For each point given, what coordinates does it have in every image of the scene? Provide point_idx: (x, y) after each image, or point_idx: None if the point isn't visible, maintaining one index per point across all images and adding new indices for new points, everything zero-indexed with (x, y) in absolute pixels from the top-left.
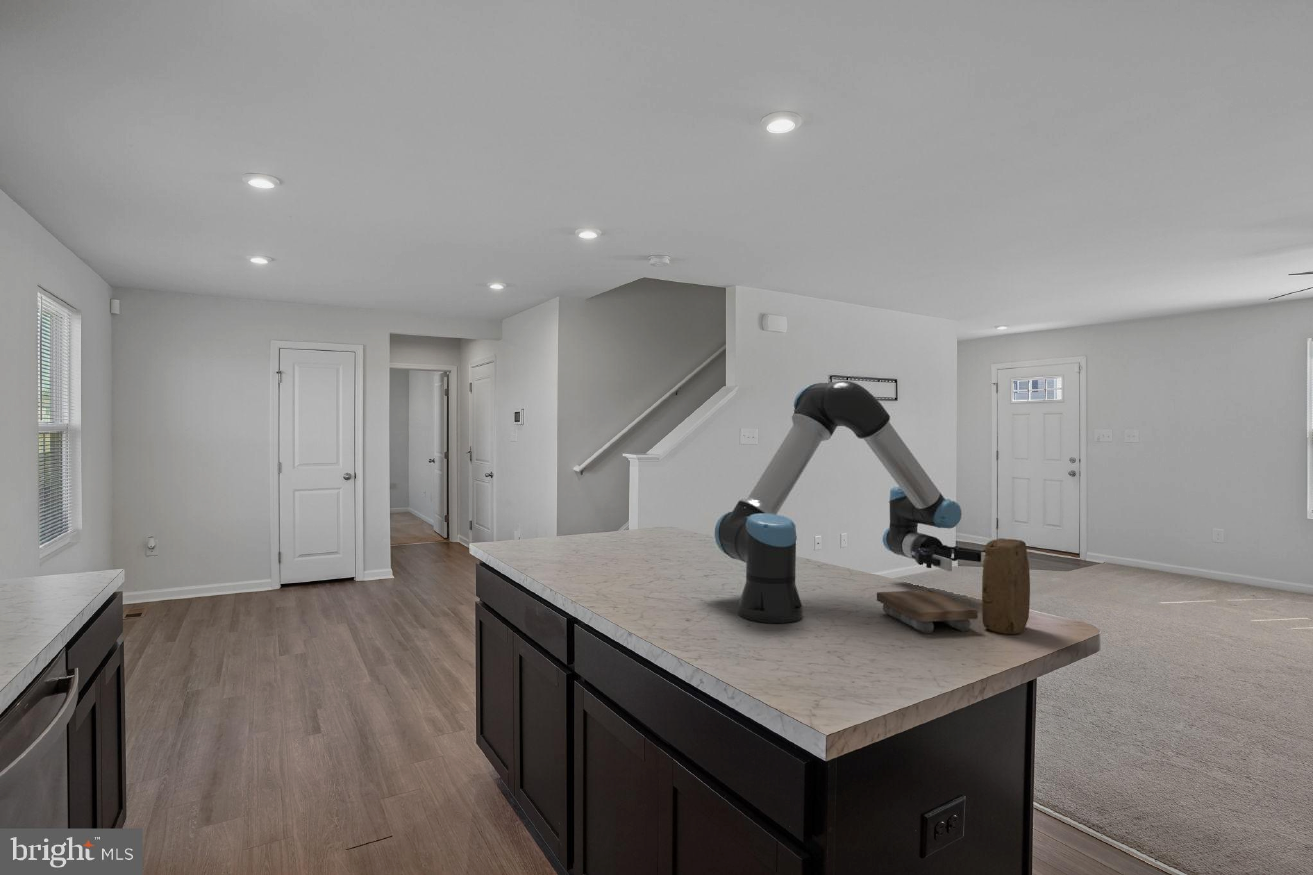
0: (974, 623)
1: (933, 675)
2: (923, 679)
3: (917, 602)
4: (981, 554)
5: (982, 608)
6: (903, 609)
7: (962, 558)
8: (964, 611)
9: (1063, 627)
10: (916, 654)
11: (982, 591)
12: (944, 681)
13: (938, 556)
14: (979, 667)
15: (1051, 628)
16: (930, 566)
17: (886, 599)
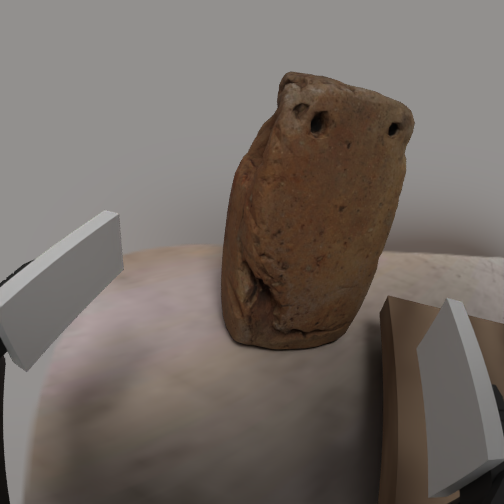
0: (319, 382)
1: (492, 274)
2: (501, 273)
3: (500, 382)
4: (3, 321)
5: (363, 300)
6: None
7: (3, 499)
8: (420, 305)
9: (146, 276)
10: (500, 310)
11: (377, 262)
12: (486, 264)
13: (490, 392)
14: (445, 265)
15: (176, 284)
16: (454, 500)
17: None
